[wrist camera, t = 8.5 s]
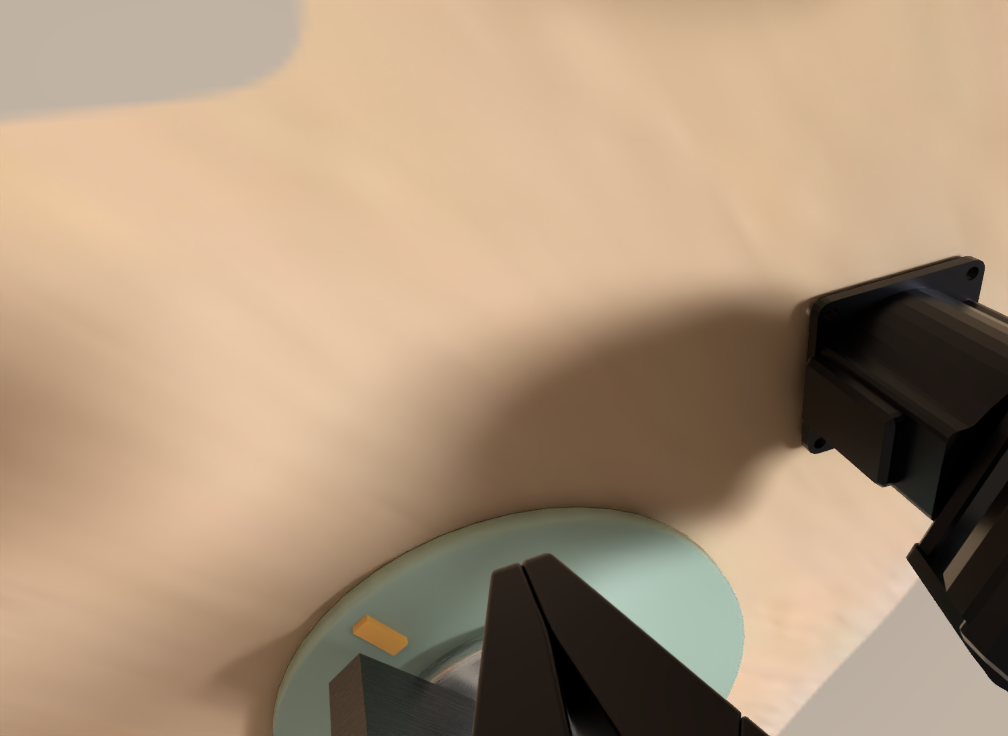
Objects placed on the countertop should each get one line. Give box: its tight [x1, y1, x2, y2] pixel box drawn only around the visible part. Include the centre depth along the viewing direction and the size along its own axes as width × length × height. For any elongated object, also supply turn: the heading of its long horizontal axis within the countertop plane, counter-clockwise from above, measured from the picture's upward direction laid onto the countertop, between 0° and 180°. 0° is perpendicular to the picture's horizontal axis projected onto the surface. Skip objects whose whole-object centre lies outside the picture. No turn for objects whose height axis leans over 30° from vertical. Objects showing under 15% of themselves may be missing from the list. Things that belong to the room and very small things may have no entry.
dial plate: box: [273, 507, 744, 736], centre depth 29 cm, size 20×20×1 cm
